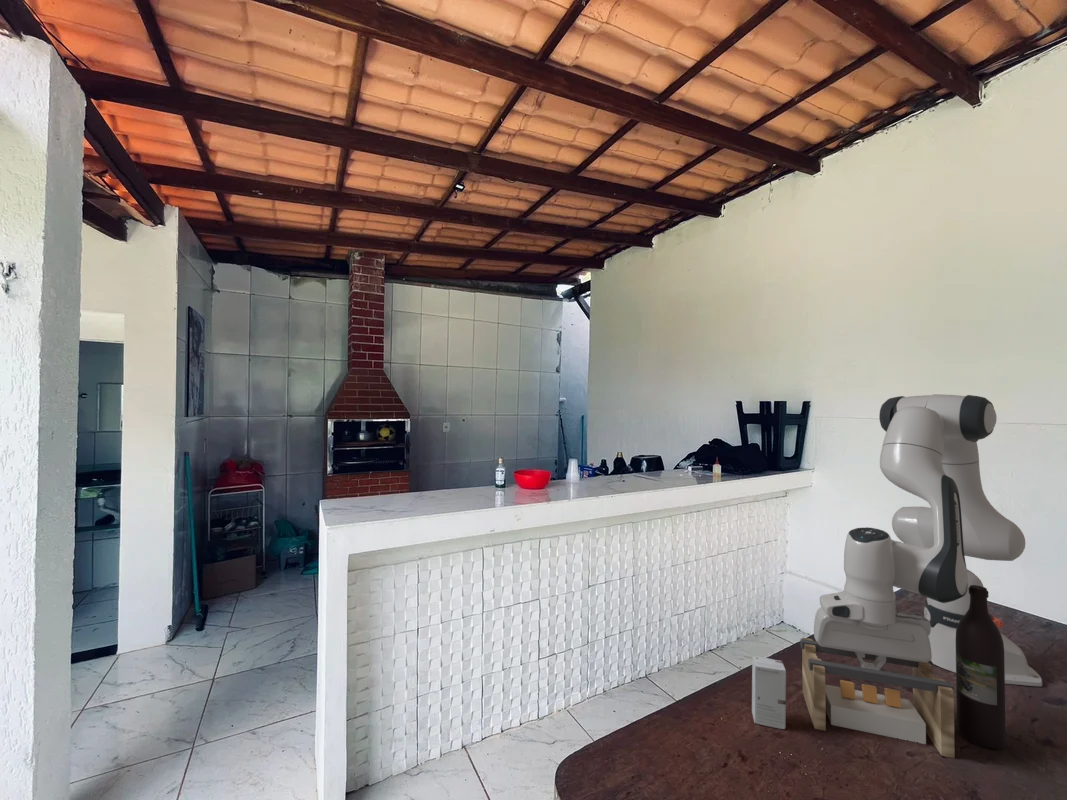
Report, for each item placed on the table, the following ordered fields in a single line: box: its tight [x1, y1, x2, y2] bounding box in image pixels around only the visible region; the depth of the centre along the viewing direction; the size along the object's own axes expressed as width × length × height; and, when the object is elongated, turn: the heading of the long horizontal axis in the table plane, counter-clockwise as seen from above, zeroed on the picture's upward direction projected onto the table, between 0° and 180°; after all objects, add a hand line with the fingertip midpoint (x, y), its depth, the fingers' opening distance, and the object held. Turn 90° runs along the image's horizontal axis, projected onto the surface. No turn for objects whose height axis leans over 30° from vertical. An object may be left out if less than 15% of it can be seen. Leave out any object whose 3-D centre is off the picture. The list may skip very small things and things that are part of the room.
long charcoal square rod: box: [800, 638, 934, 671], centre depth 102 cm, size 24×2×2 cm, turn 69°
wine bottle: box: [955, 585, 1007, 750], centre depth 93 cm, size 7×7×30 cm
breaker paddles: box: [839, 679, 901, 708], centre depth 98 cm, size 10×1×3 cm, turn 69°
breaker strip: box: [825, 684, 927, 745], centre depth 98 cm, size 16×8×4 cm, turn 69°
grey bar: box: [808, 659, 955, 692], centre depth 94 cm, size 24×2×2 cm, turn 69°
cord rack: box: [801, 637, 956, 759], centre depth 98 cm, size 23×13×13 cm, turn 69°
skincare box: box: [751, 655, 787, 730], centre depth 98 cm, size 6×4×12 cm
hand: (870, 673), depth 98 cm, fingers closed
